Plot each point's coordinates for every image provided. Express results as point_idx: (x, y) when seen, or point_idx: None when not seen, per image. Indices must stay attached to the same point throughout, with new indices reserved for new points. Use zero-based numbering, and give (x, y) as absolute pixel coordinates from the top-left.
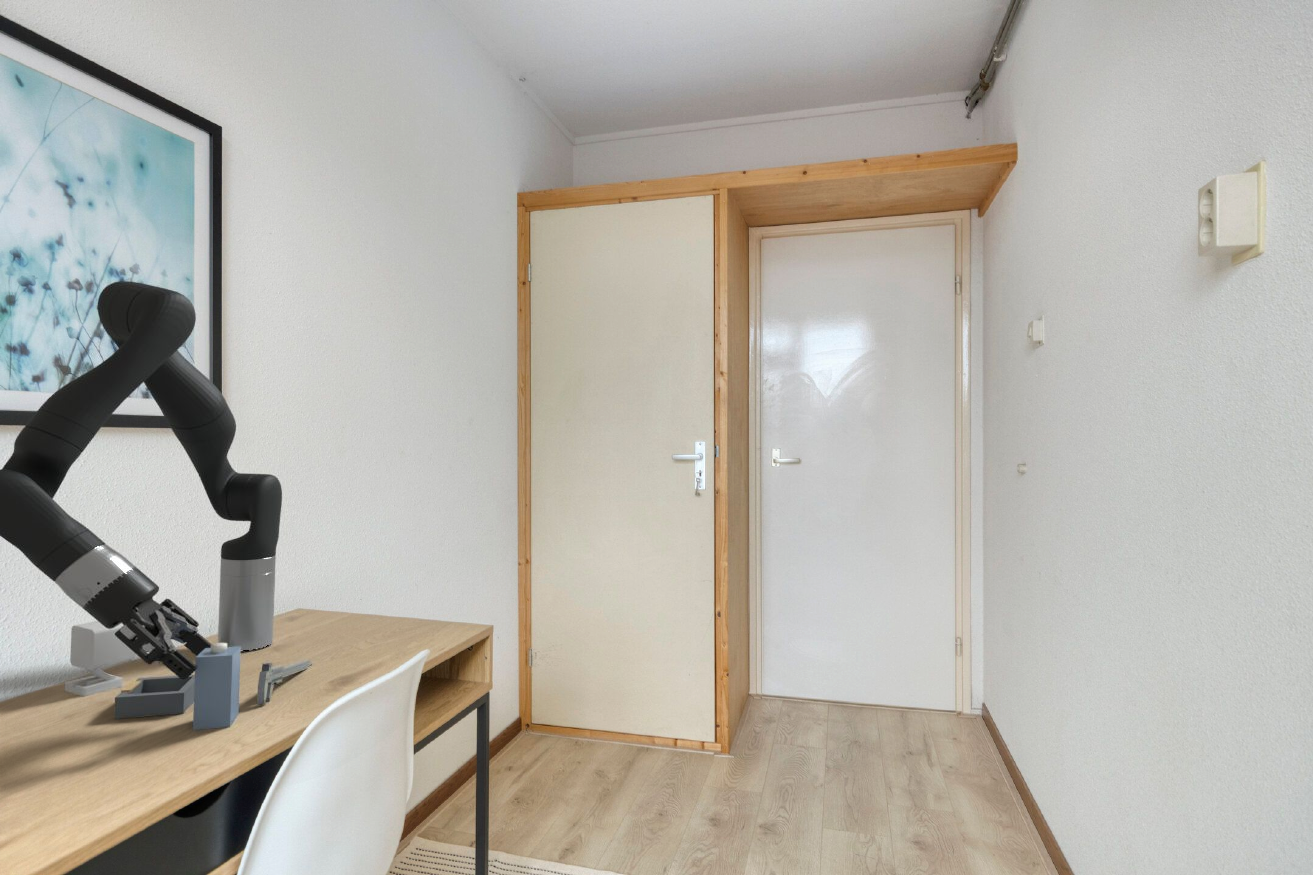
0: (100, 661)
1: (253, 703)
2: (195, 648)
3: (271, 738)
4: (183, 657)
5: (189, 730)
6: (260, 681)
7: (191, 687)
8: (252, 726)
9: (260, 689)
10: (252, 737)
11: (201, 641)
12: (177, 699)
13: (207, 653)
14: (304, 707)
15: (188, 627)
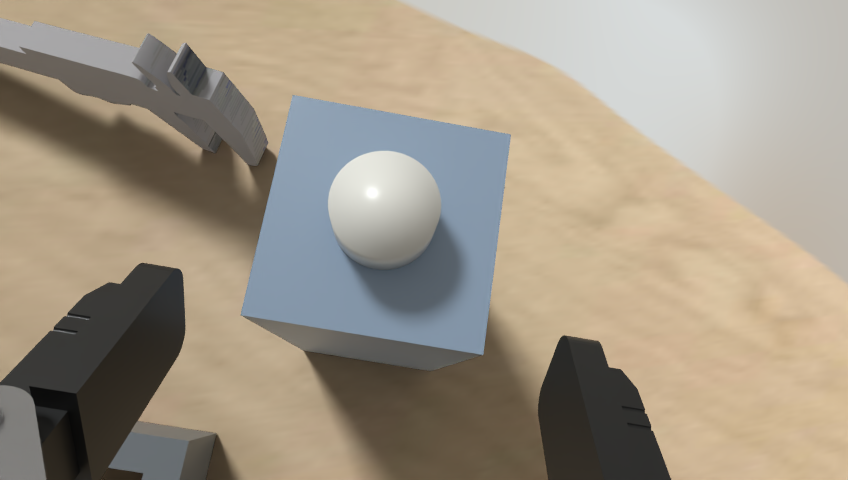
0: None
1: (218, 182)
2: (136, 395)
3: (604, 123)
4: (624, 418)
5: (431, 382)
6: (236, 116)
7: None
8: None
9: (251, 131)
10: (576, 176)
11: (121, 352)
12: (191, 467)
13: (404, 287)
14: (348, 24)
15: (45, 476)
